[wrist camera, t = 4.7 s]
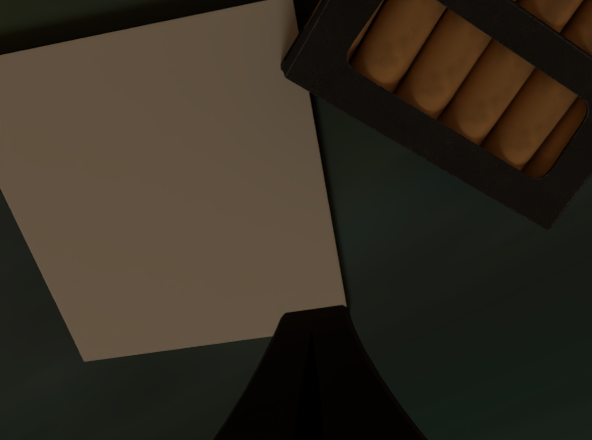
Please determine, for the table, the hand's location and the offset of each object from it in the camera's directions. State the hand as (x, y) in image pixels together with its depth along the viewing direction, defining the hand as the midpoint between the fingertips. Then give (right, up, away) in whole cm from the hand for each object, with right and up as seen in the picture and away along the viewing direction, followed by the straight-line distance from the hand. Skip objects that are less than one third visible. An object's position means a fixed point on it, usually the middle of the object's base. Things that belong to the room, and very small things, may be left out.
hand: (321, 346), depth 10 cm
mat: (-5, +3, +9) cm, 11 cm away
